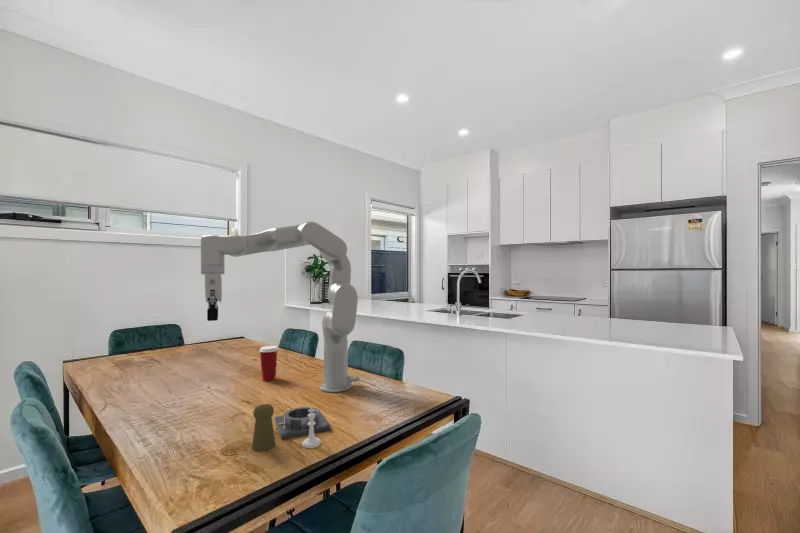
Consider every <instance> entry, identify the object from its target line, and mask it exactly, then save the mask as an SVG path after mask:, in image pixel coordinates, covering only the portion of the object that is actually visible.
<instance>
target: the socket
mask: <svg viewBox="0 0 800 533" xmlns="http://www.w3.org/2000/svg"><path fill="white" fill-rule="evenodd" d="M311 407H312V406H303V407H301V406H300V407H295V408H291V409H288V410H287V411H286V412H285V413H284V414H283V415H280V416H279V415H278V416H274V423H275V426H276V429H277V430H278V433H279V436H280V438H281V440H286V439H292V438H296V437H301V436H307V435H309V429H310V425H308V422H310V421H309V418H308V414H310V413H311V412H308V410H311ZM314 409H315V412H312V413H314V414H315V417H314V422H315V423H316V424H315V425H313V427H314V434H317V433H322V432H328V431H331V424H330V423H329V421H328V419H326V417H325V416H324V414H323V413H322V411H321V410H320V409H318V408H315V407H312V410H314Z"/></svg>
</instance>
